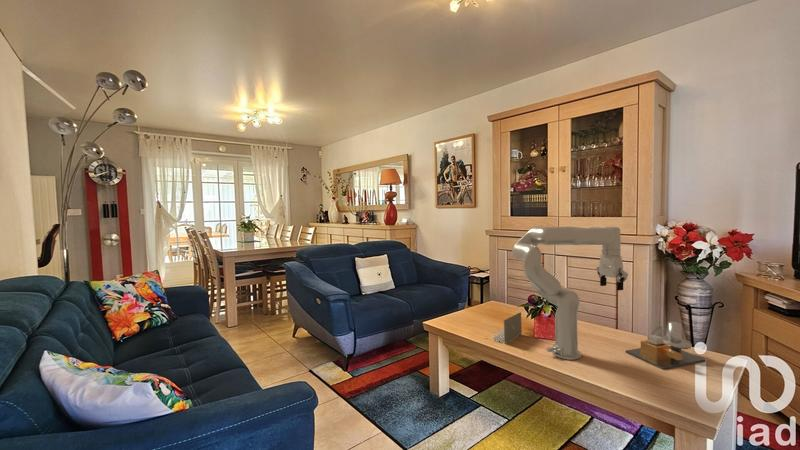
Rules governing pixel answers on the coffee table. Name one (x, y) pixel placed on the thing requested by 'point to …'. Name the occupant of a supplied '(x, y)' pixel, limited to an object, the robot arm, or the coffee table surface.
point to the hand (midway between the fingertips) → (611, 287)
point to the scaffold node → (667, 350)
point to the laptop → (510, 329)
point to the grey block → (655, 340)
